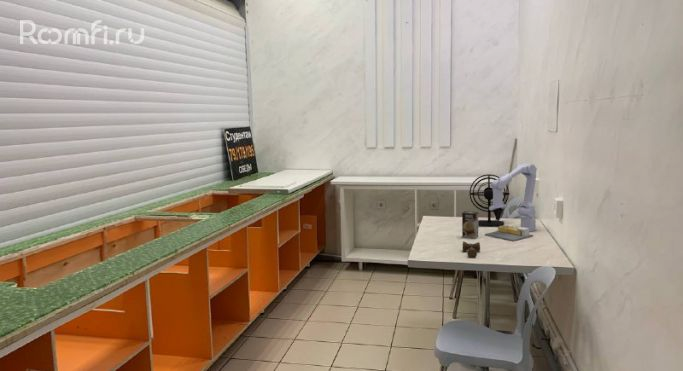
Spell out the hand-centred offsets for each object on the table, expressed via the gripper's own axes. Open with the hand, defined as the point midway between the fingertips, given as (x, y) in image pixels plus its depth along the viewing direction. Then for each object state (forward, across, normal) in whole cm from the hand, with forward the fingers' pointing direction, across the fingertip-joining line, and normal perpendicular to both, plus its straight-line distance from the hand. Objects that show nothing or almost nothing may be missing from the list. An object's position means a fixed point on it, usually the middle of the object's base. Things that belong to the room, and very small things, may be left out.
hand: (497, 219), depth 320 cm
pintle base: (+10, +3, -6) cm, 12 cm away
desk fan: (+10, +21, +25) cm, 34 cm away
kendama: (+10, -44, -18) cm, 48 cm away
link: (+9, +7, -5) cm, 12 cm away
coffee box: (+10, -16, +8) cm, 21 cm away
